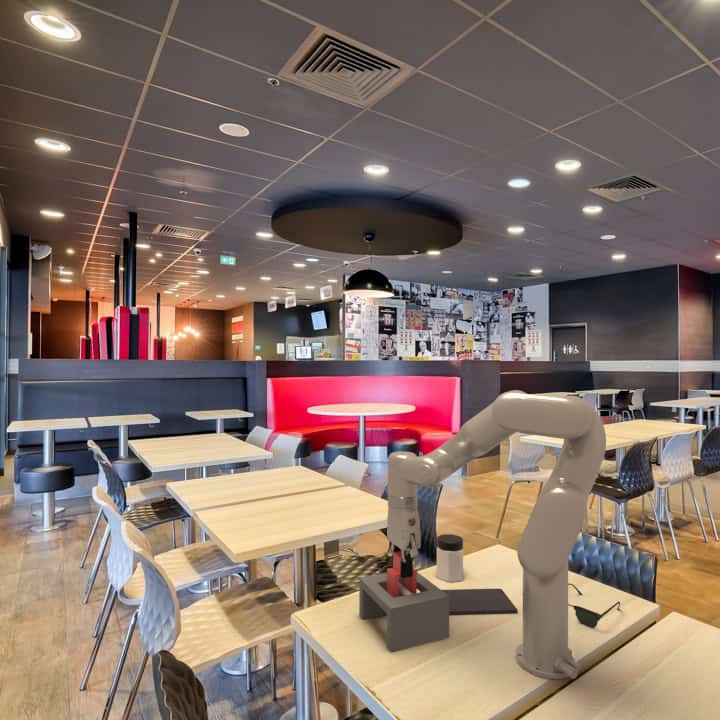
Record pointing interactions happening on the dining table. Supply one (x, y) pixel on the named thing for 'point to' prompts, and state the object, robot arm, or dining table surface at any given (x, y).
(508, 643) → the dining table surface
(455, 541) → the jar
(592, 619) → the sunglasses
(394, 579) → the red stepped block
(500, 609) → the notebook
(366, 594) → the grey frame with crossbar
